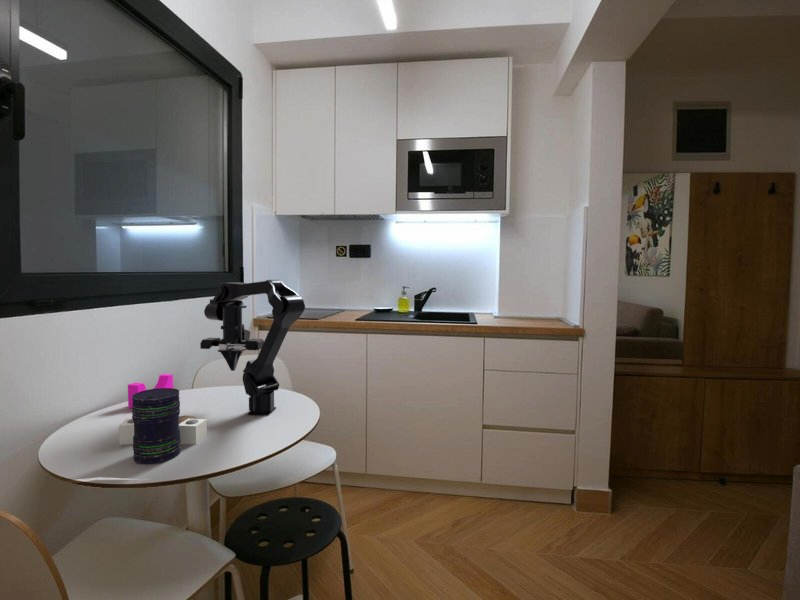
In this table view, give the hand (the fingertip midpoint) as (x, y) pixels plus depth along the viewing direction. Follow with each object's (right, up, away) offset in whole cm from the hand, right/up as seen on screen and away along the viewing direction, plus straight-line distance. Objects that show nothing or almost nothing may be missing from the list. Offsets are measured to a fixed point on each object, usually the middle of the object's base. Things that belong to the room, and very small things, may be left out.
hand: (233, 370), depth 136 cm
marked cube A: (0, -14, -26) cm, 30 cm away
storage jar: (-4, -15, -35) cm, 38 cm away
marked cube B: (-15, -14, -26) cm, 33 cm away
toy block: (-29, -12, +6) cm, 31 cm away
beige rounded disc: (-7, -13, -20) cm, 25 cm away
